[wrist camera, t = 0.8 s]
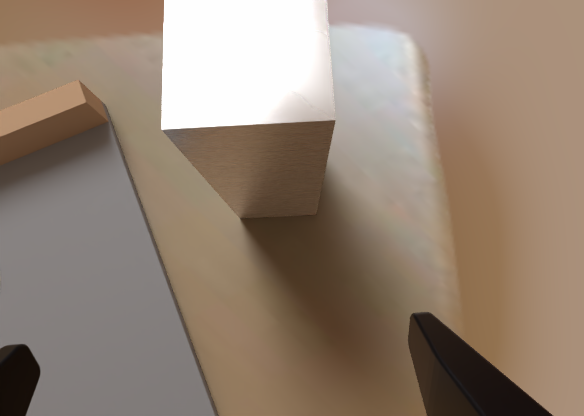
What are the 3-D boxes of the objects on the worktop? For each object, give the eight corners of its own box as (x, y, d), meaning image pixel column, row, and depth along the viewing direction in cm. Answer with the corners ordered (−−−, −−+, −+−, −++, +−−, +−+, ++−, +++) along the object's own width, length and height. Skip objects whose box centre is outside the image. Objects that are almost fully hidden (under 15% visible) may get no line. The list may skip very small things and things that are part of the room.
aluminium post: (316, 214, 23) (335, 120, 10) (240, 218, 23) (161, 129, 10) (311, 142, 23) (324, -29, 11) (238, 146, 24) (165, -20, 11)
